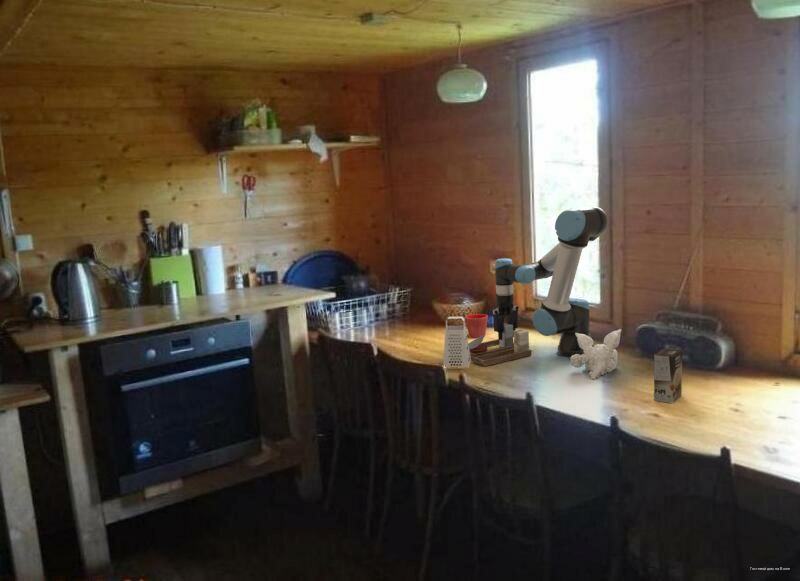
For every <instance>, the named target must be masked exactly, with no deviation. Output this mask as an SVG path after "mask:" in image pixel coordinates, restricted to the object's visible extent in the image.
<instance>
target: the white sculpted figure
mask: <svg viewBox="0 0 800 581" xmlns="http://www.w3.org/2000/svg"><path fill="white" fill-rule="evenodd" d="M621 333H622V328H619V329H617V330H613V331H611V332H610V333H608V334H606V336H604V338H603V343H602V344H598V343H596V344H595V345H594V342H595V341H594V339H592V337H591V336H590V337H589V336H587V335H585V334H578V333H575V335H576V337H577V341H578V343H579V347H580V348H582V349H583V350H584V351H583V352H584V353H585V354H582V355H580V354H575V355H572V356H571V357H570V358H569V359H570V365H571V366H572V367H574V368H582V367H583V365H584V368H585V369H586V370H587V371H588V372H589V371H590V372H589V373H588V375H589V376H590V379H591V380H596V379H598V378H600V375H602V376H604V374H608V373H612V371H614V370H616V369H617V368H616V367H617V364H618V358H619V355H618V354H619V352H618V350H616V348H618V346H619V345H620V340H621ZM592 345H593V346H594V348H593V346H592ZM607 372H608V373H607Z"/></svg>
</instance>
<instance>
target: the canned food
mask: <svg viewBox="0 0 800 581" xmlns="http://www.w3.org/2000/svg"><path fill="white" fill-rule="evenodd" d="M484 338H486V335H483V336H480V337H478V338H474V339H473V340H472V341H470V342H468V344H469V350H470V352H471V353H474V354H477V353H482V352H486V351H488V347H487V346H484V345H480V344H481V343H483V342H484V341H483V340H484Z"/></svg>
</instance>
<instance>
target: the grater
mask: <svg viewBox="0 0 800 581" xmlns="http://www.w3.org/2000/svg"><path fill="white" fill-rule="evenodd" d="M448 319H449V320H450V319H454V320H457V319H461V320H462V321H463V325H448ZM465 323H466V320H465V317H463V316H448V317H447V318H446V319H445V332H444V346H443V348H444V349H443V363H442V366H443V365H445V367H458V368H457V369H463V368H462V367H466V368H465V369H469V368H470V366H469V365H471V363H470V362H472V358H471V356H470V350H469V340H468V331H467V325H466V324H465ZM460 367H461V368H460ZM467 367H468V368H467Z"/></svg>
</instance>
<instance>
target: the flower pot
mask: <svg viewBox="0 0 800 581" xmlns="http://www.w3.org/2000/svg"><path fill="white" fill-rule="evenodd" d="M464 319H465V323H466V324H465V326H466V330H467V334H468V336H469V338H472V337H473V338H474V339H477V338H478V337H480V336H483V335H485V336H486V334H487V328H488V326H487V325H488V319H489V315H488V314H484V313H475V314H472V313H471V314H468V315H465V317H464Z"/></svg>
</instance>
